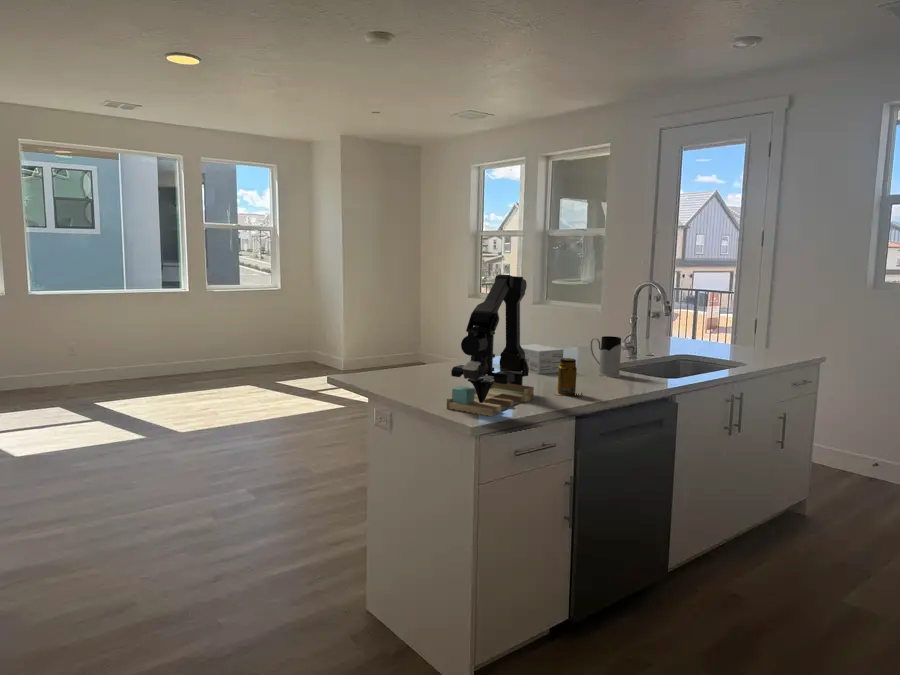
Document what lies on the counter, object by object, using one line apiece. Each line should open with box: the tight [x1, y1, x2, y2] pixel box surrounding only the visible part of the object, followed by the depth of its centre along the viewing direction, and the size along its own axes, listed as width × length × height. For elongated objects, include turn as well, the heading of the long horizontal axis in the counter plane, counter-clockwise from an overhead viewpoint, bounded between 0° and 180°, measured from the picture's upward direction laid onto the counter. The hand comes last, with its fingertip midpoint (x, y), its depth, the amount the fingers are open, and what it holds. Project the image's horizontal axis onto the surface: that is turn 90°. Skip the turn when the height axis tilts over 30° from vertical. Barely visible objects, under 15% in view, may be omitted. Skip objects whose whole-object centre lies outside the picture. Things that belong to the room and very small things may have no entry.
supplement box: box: [520, 343, 564, 375], centre depth 261 cm, size 17×13×9 cm
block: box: [451, 385, 475, 404], centre depth 194 cm, size 5×5×4 cm
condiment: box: [554, 357, 581, 397], centre depth 217 cm, size 7×8×12 cm
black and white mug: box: [590, 335, 622, 378], centre depth 255 cm, size 9×14×15 cm, turn 39°
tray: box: [446, 382, 535, 417], centre depth 200 cm, size 28×16×4 cm, turn 149°
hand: (481, 402), depth 191 cm, fingers closed
